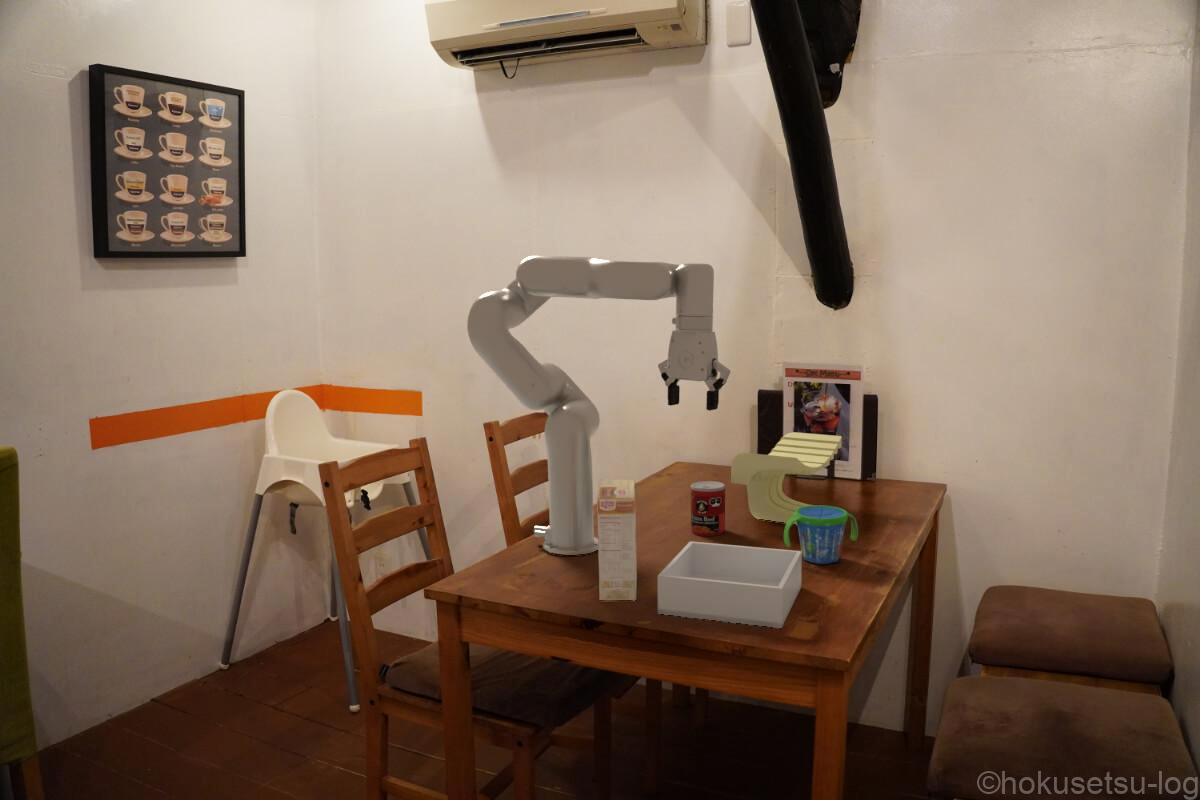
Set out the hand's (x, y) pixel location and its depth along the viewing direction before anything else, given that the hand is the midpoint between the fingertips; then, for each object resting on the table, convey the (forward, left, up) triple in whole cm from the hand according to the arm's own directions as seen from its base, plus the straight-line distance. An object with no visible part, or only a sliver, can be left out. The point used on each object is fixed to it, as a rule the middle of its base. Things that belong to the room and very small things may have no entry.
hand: (692, 407), depth 195 cm
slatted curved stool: (+14, +36, -32) cm, 50 cm away
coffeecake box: (-8, -25, -32) cm, 41 cm away
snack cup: (+26, +4, -32) cm, 41 cm away
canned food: (-1, +17, -32) cm, 36 cm away
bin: (+14, -25, -31) cm, 42 cm away
